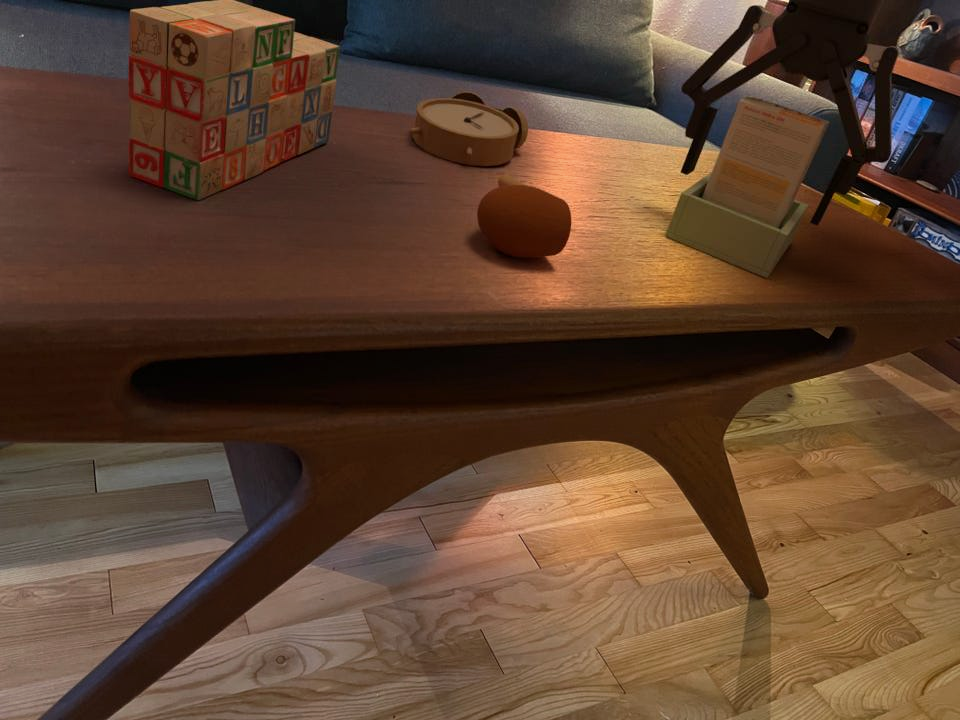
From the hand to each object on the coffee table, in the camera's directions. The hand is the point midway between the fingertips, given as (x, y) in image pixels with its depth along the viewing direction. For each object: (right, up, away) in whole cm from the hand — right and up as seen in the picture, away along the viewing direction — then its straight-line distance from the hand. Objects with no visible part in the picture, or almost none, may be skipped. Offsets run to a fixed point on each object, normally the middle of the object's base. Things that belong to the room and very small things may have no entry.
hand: (749, 196), depth 79 cm
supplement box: (-1, -4, +3) cm, 5 cm away
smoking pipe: (-25, -4, -9) cm, 27 cm away
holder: (-1, -4, +3) cm, 5 cm away
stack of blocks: (-48, +1, -10) cm, 49 cm away
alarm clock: (-28, +7, +9) cm, 31 cm away
